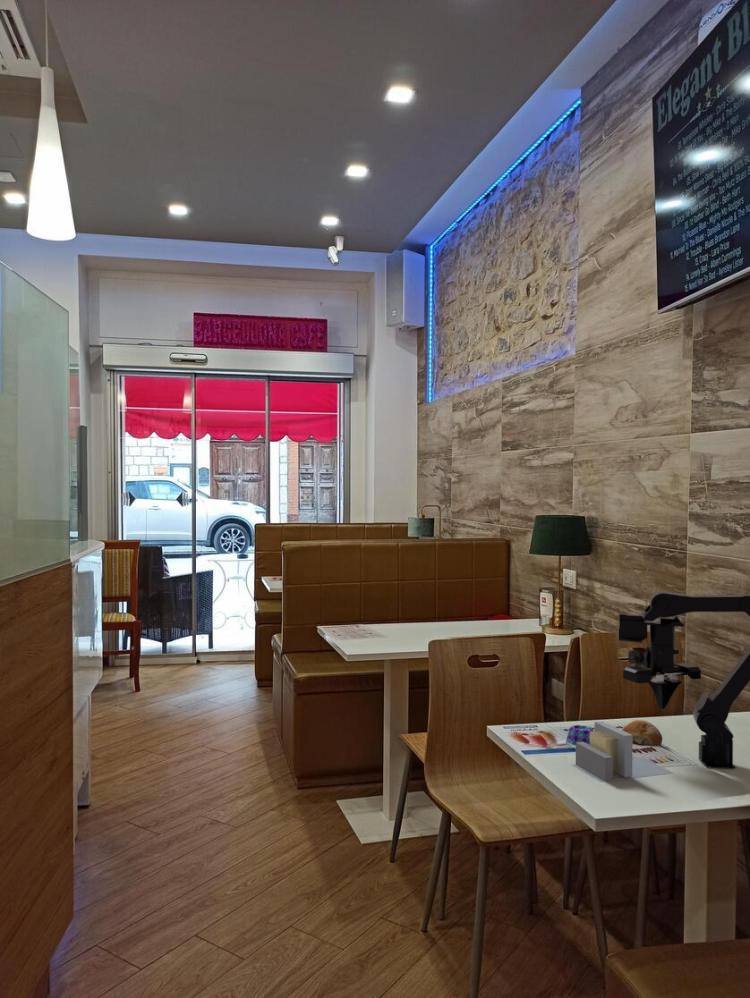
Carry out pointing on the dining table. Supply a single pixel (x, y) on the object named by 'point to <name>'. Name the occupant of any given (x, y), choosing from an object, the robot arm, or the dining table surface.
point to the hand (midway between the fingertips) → (661, 708)
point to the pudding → (577, 735)
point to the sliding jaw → (620, 747)
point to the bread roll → (644, 733)
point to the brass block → (605, 745)
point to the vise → (611, 764)
